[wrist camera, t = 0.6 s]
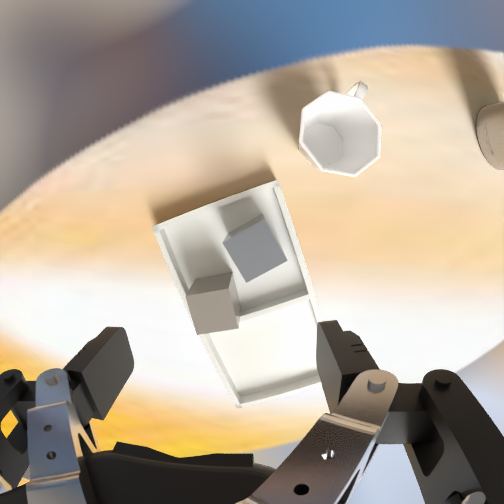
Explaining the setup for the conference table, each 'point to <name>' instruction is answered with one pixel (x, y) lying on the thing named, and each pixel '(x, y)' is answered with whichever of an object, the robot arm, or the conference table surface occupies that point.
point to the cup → (340, 132)
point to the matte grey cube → (254, 248)
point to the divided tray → (250, 296)
